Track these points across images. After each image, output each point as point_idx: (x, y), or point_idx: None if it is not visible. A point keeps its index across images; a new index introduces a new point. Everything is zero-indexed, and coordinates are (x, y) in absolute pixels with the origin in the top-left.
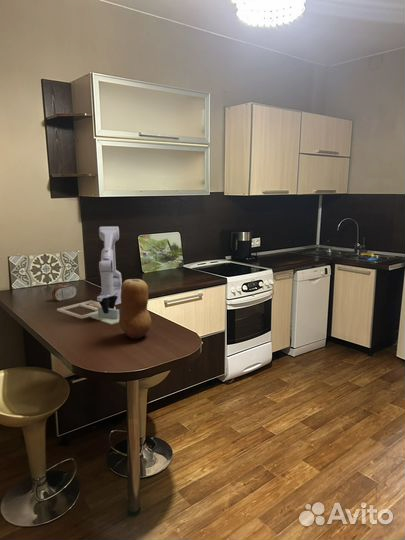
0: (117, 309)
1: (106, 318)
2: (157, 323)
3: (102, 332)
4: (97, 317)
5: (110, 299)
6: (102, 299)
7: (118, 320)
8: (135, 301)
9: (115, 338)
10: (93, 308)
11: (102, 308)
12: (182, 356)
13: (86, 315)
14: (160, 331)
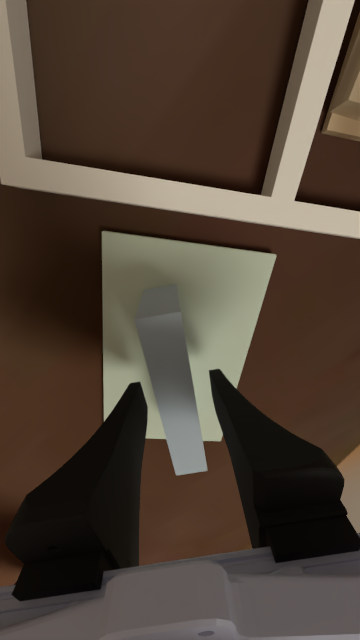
0: (201, 463)
1: None
2: (230, 525)
3: (3, 466)
4: (127, 298)
5: (243, 489)
6: (28, 601)
7: (163, 432)
8: None
9: (9, 526)
10: (315, 20)
11: (111, 415)
12: None
13: (73, 195)
14: (165, 560)
